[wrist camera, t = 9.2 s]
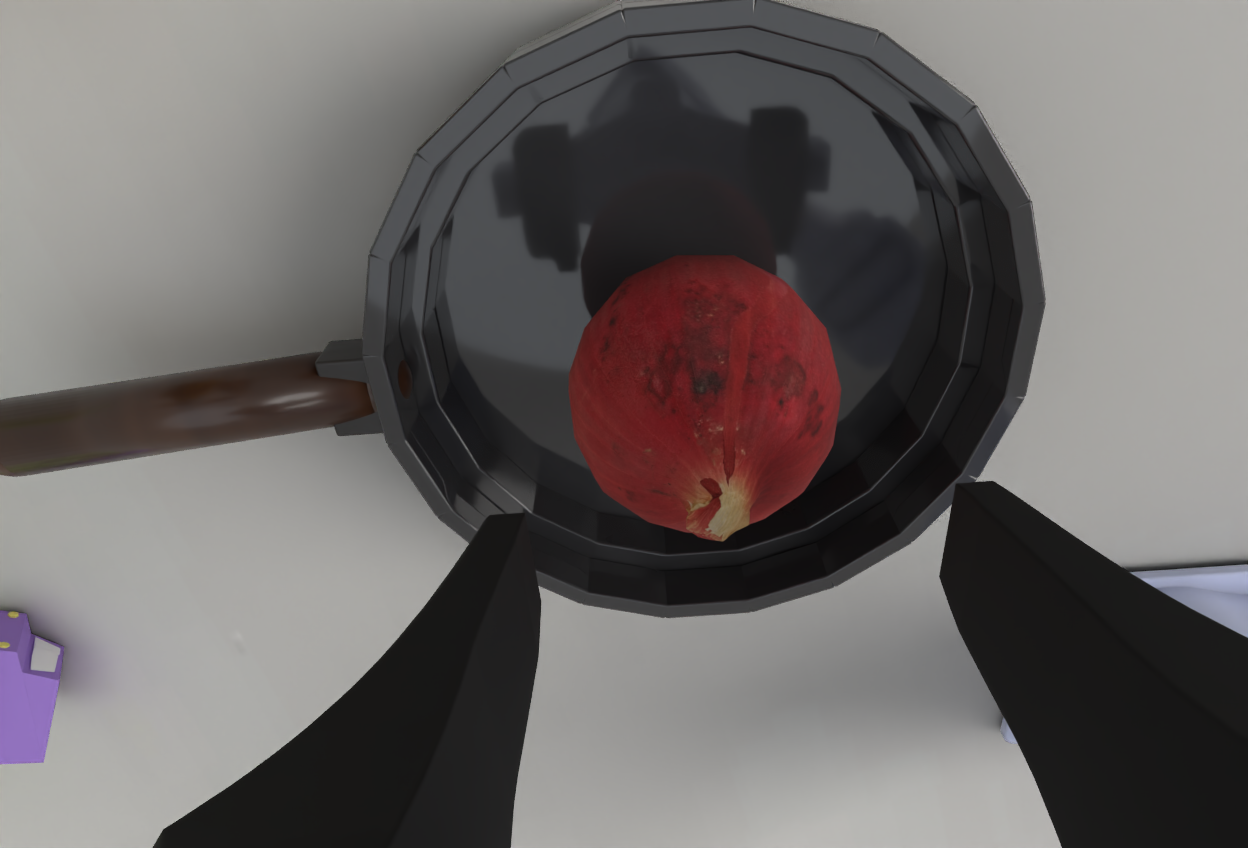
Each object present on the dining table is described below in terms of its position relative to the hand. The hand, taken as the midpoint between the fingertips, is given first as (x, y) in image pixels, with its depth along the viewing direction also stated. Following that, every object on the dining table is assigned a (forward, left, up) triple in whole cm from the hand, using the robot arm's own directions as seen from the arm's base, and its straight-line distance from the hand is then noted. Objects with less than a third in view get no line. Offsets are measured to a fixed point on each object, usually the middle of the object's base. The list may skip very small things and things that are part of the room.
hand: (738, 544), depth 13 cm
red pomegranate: (0, 0, -9) cm, 9 cm away
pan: (0, 0, -9) cm, 9 cm away
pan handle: (+12, 0, -7) cm, 14 cm away
